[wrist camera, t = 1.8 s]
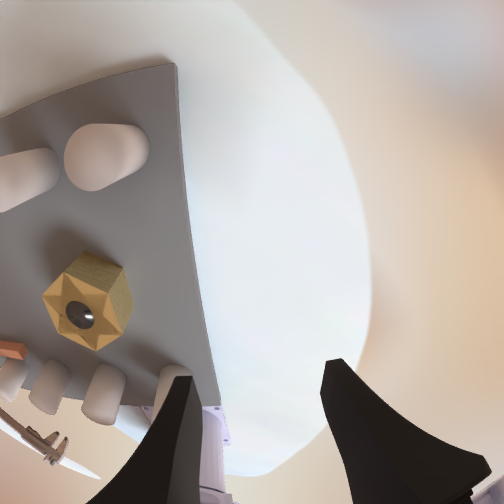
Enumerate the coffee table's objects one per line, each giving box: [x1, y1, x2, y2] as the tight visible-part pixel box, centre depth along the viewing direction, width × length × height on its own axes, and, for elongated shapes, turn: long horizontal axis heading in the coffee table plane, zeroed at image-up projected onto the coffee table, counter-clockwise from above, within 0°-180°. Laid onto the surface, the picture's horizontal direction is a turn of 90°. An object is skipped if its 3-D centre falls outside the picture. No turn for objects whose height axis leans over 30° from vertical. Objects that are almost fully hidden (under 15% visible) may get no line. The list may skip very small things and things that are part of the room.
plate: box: [0, 63, 221, 425], centre depth 15 cm, size 26×26×6 cm
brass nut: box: [42, 250, 134, 351], centre depth 15 cm, size 6×5×3 cm
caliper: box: [0, 408, 69, 466], centre depth 22 cm, size 20×1×6 cm, turn 69°
